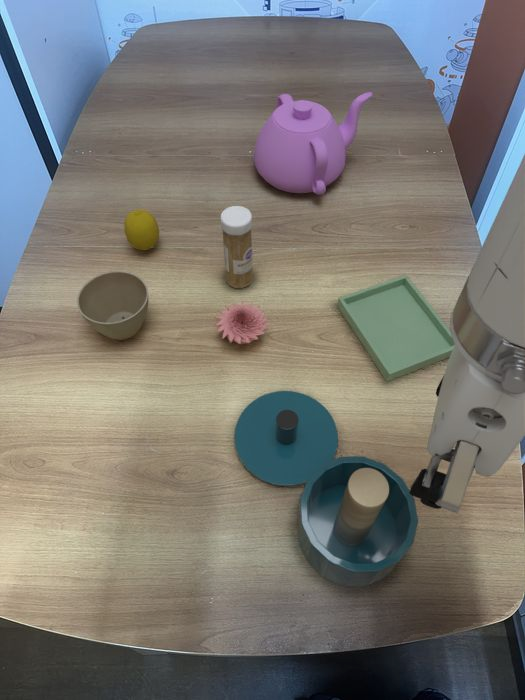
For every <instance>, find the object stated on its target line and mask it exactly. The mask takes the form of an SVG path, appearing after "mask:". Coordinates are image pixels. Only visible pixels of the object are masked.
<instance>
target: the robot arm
mask: <svg viewBox="0 0 525 700" xmlns="http://www.w3.org/2000/svg"><path fill="white" fill-rule="evenodd" d="M449 330H450V331H451V335H452V338H453V341H454V343H455V345H454V347H453V350H452V353H451V355H450V357H449V359H448V361H447V365H446V368H445V370H444V373H443V376H442V378H441V379H440V381H439V383H438V385H437V387H436V391H435V395H436V397H437V401H436V405H435V407H434V413H433V418H432V422H431V427H430V431H429V435H428V439H427V445H426V449H427V452H428V453H429V455H430V457H431V458H430V460H429V462H428V465H427V468H422V469H421V470H420V472H419V473H418V475H417V476H416V478H415V479H414V481H413V483H412V484H411V486H410V489H409V490H410V492H409V493H410V495H412V496H413V497H414V498H417V499H419V500H420V503H421V504H422V505H424V506H427V507H428V508H429V507H430V508H431V509H437V510H441V509H442V508H443V509H446V510H448V511H451V512H453V513H456V514H458V513H459V511H460V509H461V507H462V504H463V501H464V497H465V494H466V492H467V488H468V485H469V483H470V480H471V478H472V476H473V473H474V471H475V474H476V475H479V476H482V477H486V478H489V477H492V476H494V475H495V474H497V472H498V471H499V470H500V469H501V468H502V467H503V465H505V463H506V462H507V461H508V459H509V458H510V456H511V455H512V454H513V452H514V451H515V450H516V449H517V447H518V446H519V444H520V443H521V442H522V440H523V439H524V437H525V154H524V155H523V157H522V159H521V160H520V163H519V166H518V168H517V170H516V171H515V175H514V176H513V179H512V181H511V183H510V185H509V187H508V189H507V192H506V194H505V196H504V198H503V200H502V203H501V205H500V207H499V209H498V211H497V213H496V215H495V217H494V220H493V222H492V224H491V226H490V228H489V231H488V232H487V235H486V237H485V240H484V241H483V244H482V246H481V248H480V250H479V252H478V255H477V257H476V259H475V261H474V264H473V265H472V268H471V270H470V272H469V273H468V276H467V278H466V280H465V282H464V285H463V288H462V289H461V292H460V294H459V296H458V298H457V300H456V302H455V305H454V307H453V309H452V311H451V315H450V320H449ZM442 461H446V462H448V463H449V465H448V468H447V472H446V473H445V472H441V471H438V469H439V467H440V465H441V462H442Z"/></svg>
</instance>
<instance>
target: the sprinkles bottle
mask: <svg viewBox="0 0 525 700" xmlns="http://www.w3.org/2000/svg"><path fill="white" fill-rule="evenodd" d="M220 228H221V230H222V231H221V232H222V244H223V245H222V247H223V257H224V268H225V281H226V283H227V284H228V285H229V286H230V287H232V288H234V289H244V288H247V287H249V286H250V285H251V284H252V283H253V281H254V274H253V261H254V260H253V259H254V257H253V245H252V243H253V241H252V240H253V239H252V228H253V214H252V212H251V211H250V210H249V208H246V207H244V206H241V205H232V206H229V207H226V208H225V209H224V210H223V211H222V212H221V214H220Z"/></svg>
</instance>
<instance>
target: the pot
mask: <svg viewBox="0 0 525 700" xmlns="http://www.w3.org/2000/svg"><path fill="white" fill-rule="evenodd" d="M361 468H372V469H375V470H377V471H379V472H380V473H381V474H382V475H383V476H384V477H385V478H386V480H387V482H388V485H389V494H388V497H387V499H386V501H385V503H384V505H383V506H382V508H381V510H380V512H379V514H378V516H377V518H376V520H375V522H374V523H373V525H372V527H371V529H370V531H369V533H368V535H367V537H366V538H365V540H364V541H363V542H362V543H361V544H360V545H358V546H353V547H350V546H346V545H344V544H342V543H341V542H339V541H338V539H337V538H336V536H335V534H334V522H335V520H336V517H337V514H338V511H339V508H340V505H341V502H342V499H343V496H344V493H345V490H346V487H347V484H348V481H349V479H350V477H351V475H352V474H353V473H354V472H355V471H356V470H358V469H361ZM409 492H410V489H409V487H408V486H407V484H406V482H405V480H404V479H403V478H402V477H401V476H400V475H399V474H397V472H395V471H394V470H393V469H391V468H390V467H389V466H388V465H386V463H383V462H380V461H377V460H375V459H372V458H370V457H366V456H363V455H361V456H360V455H358V456H355V455H354V456H340V457H337V458H334V459H333V460H332V461H330V462H327V463H325V464H323V465H321V466H320V467H319V468H318V469H317V470H316V471H315V472H314V473H313V475H312V476H311V477H310V478H309V479H308V480H307V482H306V483H305V484H304V489H303V490H302V494H301V496H300V499H299V504H298V505H299V506H298V513H297V518H296V527H297V530H296V531H297V541H298V545H299V547H300V550H301V552H302V554H303V556H304V559H306V561H307V562H308V564H309V566H311V567H312V569H313V570H314V571H316V572H317V573H318V574H319V575H320V576H322V577H323V578H325V579H326V580H328V581H329V582H332V583H334V584H337V585H340V586H345V587H352V588H358V587H360V588H361V587H366V586H370V585H373V584H375V583H377V582H379V581H381V580H382V579H385V578H386V577H388V575H389V574H390V573H391V572H392V570H393V569H394V568H395V567H396V566H397V564H398V563H400V560H401V559H403V557H404V556H405V555H406V553H407V552H408V551H409V549H410V548H411V547H412V546H413V545H414V541H415V538H416V537H415V536H416V532H417V529H418V526H419V525H418V524H419V518H418V513H417V507H416V501H415V497H414V496H412V495H410V493H409Z"/></svg>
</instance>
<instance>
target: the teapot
mask: <svg viewBox="0 0 525 700" xmlns="http://www.w3.org/2000/svg"><path fill="white" fill-rule="evenodd" d="M372 96H373V92H371V91H368V92H365V93H362V94H360V95H358V96H357V97H356V98H355V99H354V100H353V101H352V102H351V104H350V106H349V108H348V112H347V114H346V117H345V118H344V121H343V122H342V123H341V124H340V125H338V124H337V122H336V120H335V118H334V117H333V115H332V113H331V112H330V111H329V110H328V109H327V108H326V107H324V106H323V105H322V104H320V103H317V102H315V101H310V100H307V99H298V100H294V99H293V97H292V96H291V94H289V93H282V94H279V96H277V98H276V108H275V110H274V111H273V112H272V113H271V114H270V116H269V117H268V118H267V119H266V120H265V122H264V124H263V125H262V128H261V129H260V131H259V133H258V136H257V138H256V142H255V145H254V150H253V163H254V166H255V168H256V171H257V173H258V174H259V175H260V176H261V177H262V178H263V179H264V180H265V181H266V182H267V183H268V184H269V185H271V186H272V187H274V188H275V189H278V190H280V191H283V192H286V193H292V194H308V193H314V194H316V195H320V196H321V195H323V194H324V193H326V192H327V191H326V190H327V188H326V187H327V186H329V185H330V184H332V183H333V182H334V181H336V180H337V179H338V178H339V177H340V176H341V174H342V172H343V170H345V166H346V157H347V156H346V155H347V154H346V150H347V149H348V148H349V147H350V146H351V144H352V143H353V142H354V140H355V138H356V135H357V132H358V126H359V118H360V112H361V110H362V108H363V106H364V104H365V103H366V102H367V101H368V100H369V99H370V98H371V97H372Z"/></svg>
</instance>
